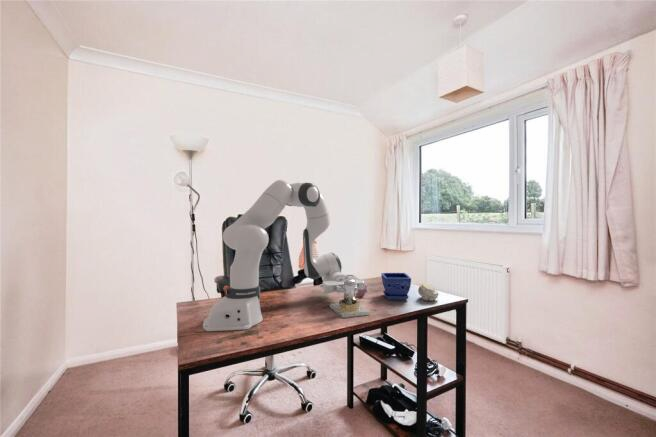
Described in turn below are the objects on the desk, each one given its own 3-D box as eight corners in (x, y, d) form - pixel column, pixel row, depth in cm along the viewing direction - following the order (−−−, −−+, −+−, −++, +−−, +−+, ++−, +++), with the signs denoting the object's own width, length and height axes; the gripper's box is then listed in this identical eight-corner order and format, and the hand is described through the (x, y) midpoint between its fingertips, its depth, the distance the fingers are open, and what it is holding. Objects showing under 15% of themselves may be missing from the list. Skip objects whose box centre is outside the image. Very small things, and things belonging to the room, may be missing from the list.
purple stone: (362, 300, 148) (369, 289, 147) (355, 296, 148) (361, 284, 148) (364, 295, 158) (369, 284, 157) (356, 291, 158) (362, 280, 158)
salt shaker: (346, 304, 125) (346, 281, 124) (341, 300, 129) (342, 279, 129) (357, 303, 126) (357, 280, 126) (352, 299, 131) (352, 278, 131)
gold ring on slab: (342, 318, 118) (342, 308, 118) (329, 307, 133) (329, 298, 132) (370, 314, 123) (370, 305, 123) (355, 304, 137) (355, 295, 137)
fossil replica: (433, 296, 151) (414, 298, 151) (431, 280, 152) (413, 282, 151) (443, 301, 139) (423, 303, 139) (441, 284, 140) (422, 286, 139)
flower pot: (384, 301, 142) (384, 277, 141) (380, 294, 155) (380, 272, 155) (411, 301, 141) (411, 278, 141) (405, 294, 154) (405, 272, 154)
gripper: (318, 277, 136) (328, 284, 123) (357, 274, 143) (370, 281, 130) (318, 291, 136) (328, 299, 123) (357, 287, 143) (370, 294, 130)
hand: (350, 290), depth 127 cm, fingers closed on salt shaker, 5 cm apart
